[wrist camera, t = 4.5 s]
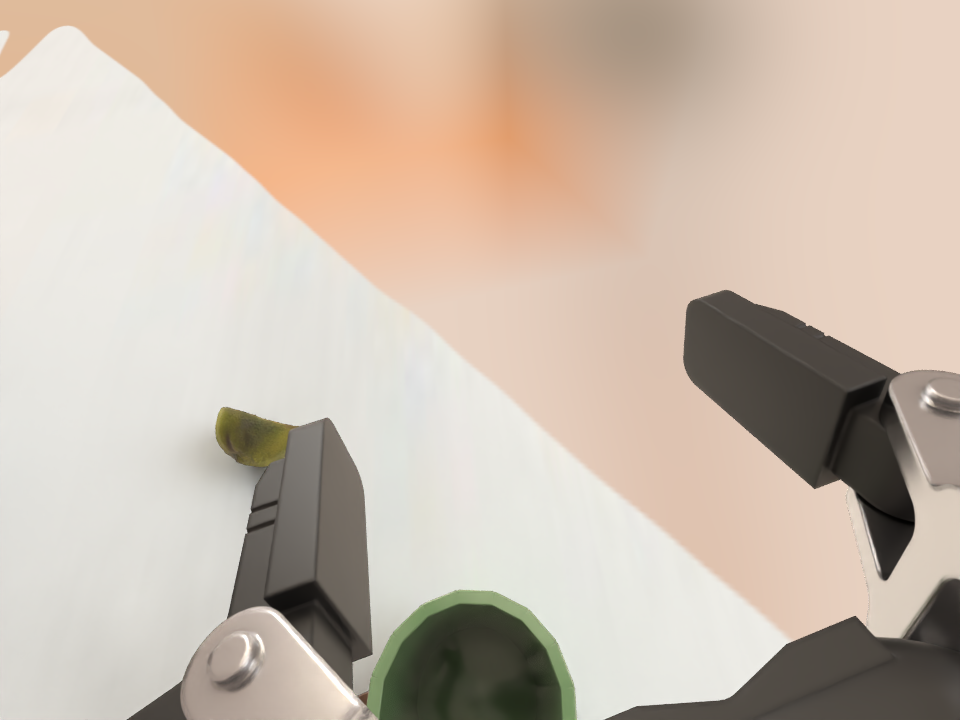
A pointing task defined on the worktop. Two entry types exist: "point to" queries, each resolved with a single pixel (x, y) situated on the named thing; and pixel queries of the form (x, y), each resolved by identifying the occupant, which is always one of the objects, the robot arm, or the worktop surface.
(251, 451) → the lime
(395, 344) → the worktop surface
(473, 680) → the tumbler
